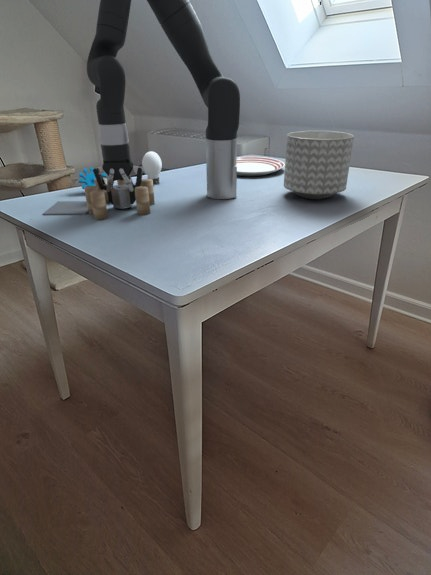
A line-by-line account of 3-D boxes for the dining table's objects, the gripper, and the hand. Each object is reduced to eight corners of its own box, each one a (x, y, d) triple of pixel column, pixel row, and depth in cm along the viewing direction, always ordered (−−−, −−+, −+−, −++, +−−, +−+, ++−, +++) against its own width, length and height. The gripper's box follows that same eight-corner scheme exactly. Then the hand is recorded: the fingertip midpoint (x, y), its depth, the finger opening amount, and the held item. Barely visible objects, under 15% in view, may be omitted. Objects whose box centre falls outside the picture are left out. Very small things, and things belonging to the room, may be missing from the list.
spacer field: (157, 197, 124) (155, 174, 120) (147, 219, 105) (144, 193, 101) (102, 198, 124) (98, 175, 121) (81, 220, 105) (76, 194, 102)
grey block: (133, 202, 116) (131, 184, 114) (130, 208, 111) (127, 189, 109) (116, 203, 117) (114, 184, 114) (112, 208, 111) (109, 189, 109)
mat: (97, 202, 120) (97, 201, 119) (85, 214, 109) (85, 213, 109) (58, 202, 120) (57, 201, 120) (42, 215, 109) (42, 213, 109)
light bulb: (161, 180, 144) (158, 149, 138) (164, 184, 138) (162, 152, 133) (142, 182, 142) (139, 150, 136) (145, 186, 136) (142, 153, 131)
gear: (81, 192, 124) (76, 165, 127) (79, 202, 129) (74, 176, 132) (116, 192, 129) (110, 166, 132) (112, 201, 134) (107, 176, 137)
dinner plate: (289, 178, 145) (290, 169, 143) (215, 179, 146) (215, 170, 144) (279, 164, 169) (280, 156, 168) (216, 164, 170) (216, 156, 168)
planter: (355, 195, 124) (365, 134, 115) (325, 208, 112) (333, 141, 103) (303, 185, 136) (308, 129, 127) (270, 196, 123) (274, 135, 115)
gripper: (143, 139, 109) (149, 199, 117) (91, 140, 109) (101, 200, 117) (138, 143, 102) (145, 207, 110) (84, 144, 102) (94, 207, 110)
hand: (122, 203), depth 114 cm, fingers closed on grey block, 5 cm apart
